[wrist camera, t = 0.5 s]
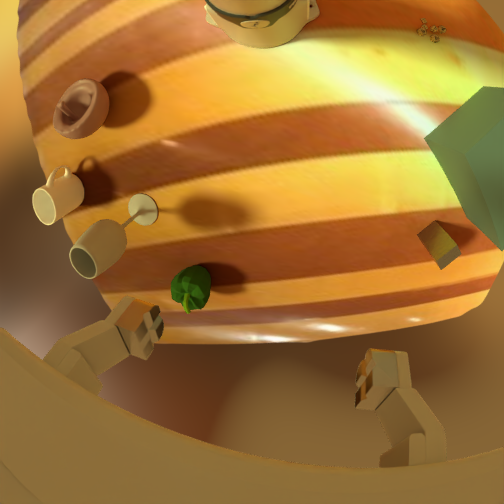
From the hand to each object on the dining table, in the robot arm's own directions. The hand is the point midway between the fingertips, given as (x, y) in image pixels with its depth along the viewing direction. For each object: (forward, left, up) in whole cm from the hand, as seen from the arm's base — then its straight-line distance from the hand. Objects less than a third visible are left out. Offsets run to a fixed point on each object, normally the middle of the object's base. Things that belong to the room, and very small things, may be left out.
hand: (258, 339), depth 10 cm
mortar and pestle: (-14, -37, -41) cm, 57 cm away
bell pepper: (+26, -20, -41) cm, 52 cm away
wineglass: (+10, -30, -41) cm, 52 cm away
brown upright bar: (+14, +29, -41) cm, 52 cm away
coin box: (-4, +39, -40) cm, 56 cm away
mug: (+2, -49, -41) cm, 64 cm away
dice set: (-26, +27, -41) cm, 56 cm away
